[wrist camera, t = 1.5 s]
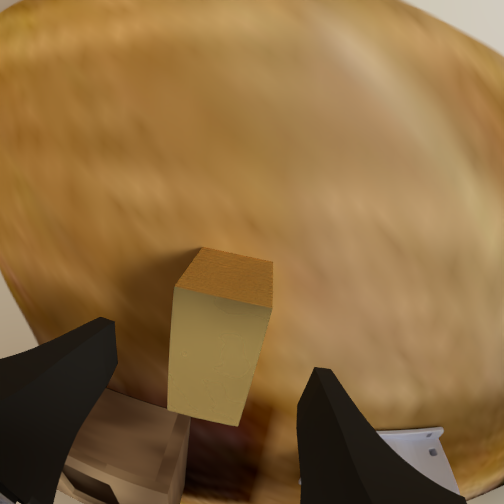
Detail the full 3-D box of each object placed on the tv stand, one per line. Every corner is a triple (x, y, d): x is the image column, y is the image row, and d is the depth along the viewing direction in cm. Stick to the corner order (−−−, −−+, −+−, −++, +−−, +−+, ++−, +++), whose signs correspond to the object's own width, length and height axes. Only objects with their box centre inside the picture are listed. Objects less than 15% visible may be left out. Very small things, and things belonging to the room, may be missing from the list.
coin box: (191, 415, 16) (167, 494, 10) (184, 484, 20) (171, 535, 14) (37, 356, 16) (-8, 406, 10) (70, 441, 20) (46, 483, 14)
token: (272, 261, 12) (272, 308, 9) (245, 367, 14) (237, 426, 11) (203, 246, 12) (174, 286, 9) (189, 354, 14) (167, 409, 11)
